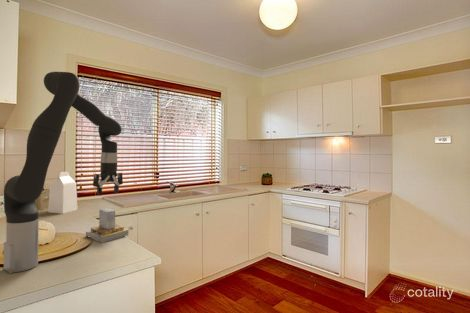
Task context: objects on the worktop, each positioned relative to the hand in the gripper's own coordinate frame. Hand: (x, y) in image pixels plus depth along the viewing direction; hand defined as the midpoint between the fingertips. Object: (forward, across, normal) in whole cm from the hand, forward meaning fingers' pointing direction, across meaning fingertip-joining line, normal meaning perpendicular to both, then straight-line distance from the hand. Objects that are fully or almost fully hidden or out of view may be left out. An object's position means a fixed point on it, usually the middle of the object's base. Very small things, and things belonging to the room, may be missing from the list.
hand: (108, 194), depth 133 cm
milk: (+21, +11, +68) cm, 72 cm away
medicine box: (+17, 0, 0) cm, 17 cm away
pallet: (+18, 0, 0) cm, 18 cm away
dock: (+21, 0, 0) cm, 21 cm away
